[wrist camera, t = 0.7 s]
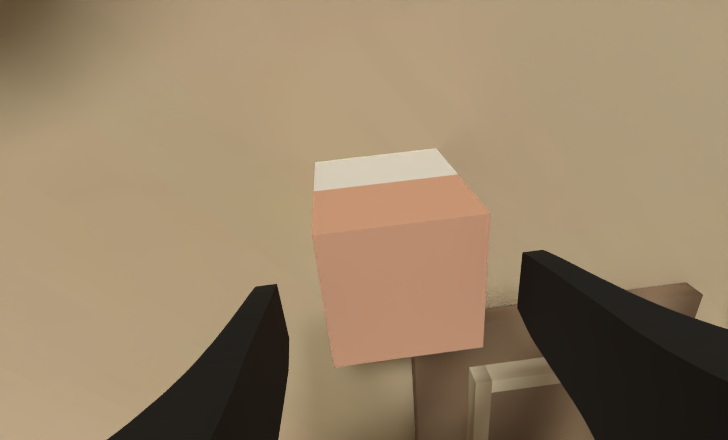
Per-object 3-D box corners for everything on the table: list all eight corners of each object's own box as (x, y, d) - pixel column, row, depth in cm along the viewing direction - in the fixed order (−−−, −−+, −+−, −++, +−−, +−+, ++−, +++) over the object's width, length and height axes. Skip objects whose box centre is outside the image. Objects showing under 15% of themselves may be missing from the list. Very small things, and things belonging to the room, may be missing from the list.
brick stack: (435, 148, 16) (490, 213, 11) (436, 251, 19) (483, 347, 13) (315, 161, 16) (311, 235, 11) (330, 264, 18) (333, 367, 13)
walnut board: (686, 282, 21) (720, 308, 19) (629, 457, 27) (651, 489, 25) (409, 318, 20) (417, 348, 18) (418, 488, 26) (425, 523, 25)
